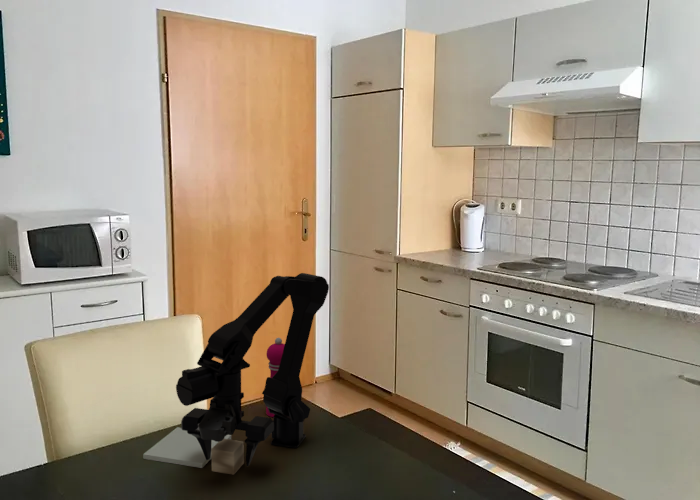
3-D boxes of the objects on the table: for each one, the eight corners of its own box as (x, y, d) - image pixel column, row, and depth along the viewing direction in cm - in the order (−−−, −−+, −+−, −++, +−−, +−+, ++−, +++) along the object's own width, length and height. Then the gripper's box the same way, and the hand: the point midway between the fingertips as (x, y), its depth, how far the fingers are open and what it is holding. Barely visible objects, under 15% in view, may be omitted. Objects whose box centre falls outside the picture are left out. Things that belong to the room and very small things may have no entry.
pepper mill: (287, 420, 150) (287, 343, 147) (260, 417, 152) (259, 340, 149) (295, 408, 157) (296, 334, 154) (269, 406, 159) (269, 332, 156)
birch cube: (243, 463, 128) (243, 441, 128) (233, 474, 124) (233, 452, 123) (222, 460, 130) (222, 438, 129) (211, 471, 125) (211, 448, 124)
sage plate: (231, 438, 139) (231, 434, 139) (202, 467, 126) (201, 463, 126) (177, 431, 143) (177, 427, 143) (143, 458, 129) (143, 454, 129)
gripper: (166, 401, 119) (167, 474, 121) (253, 412, 114) (253, 488, 116) (194, 381, 129) (195, 449, 132) (274, 391, 125) (274, 461, 127)
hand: (228, 462), depth 126 cm, fingers open, 9 cm apart
